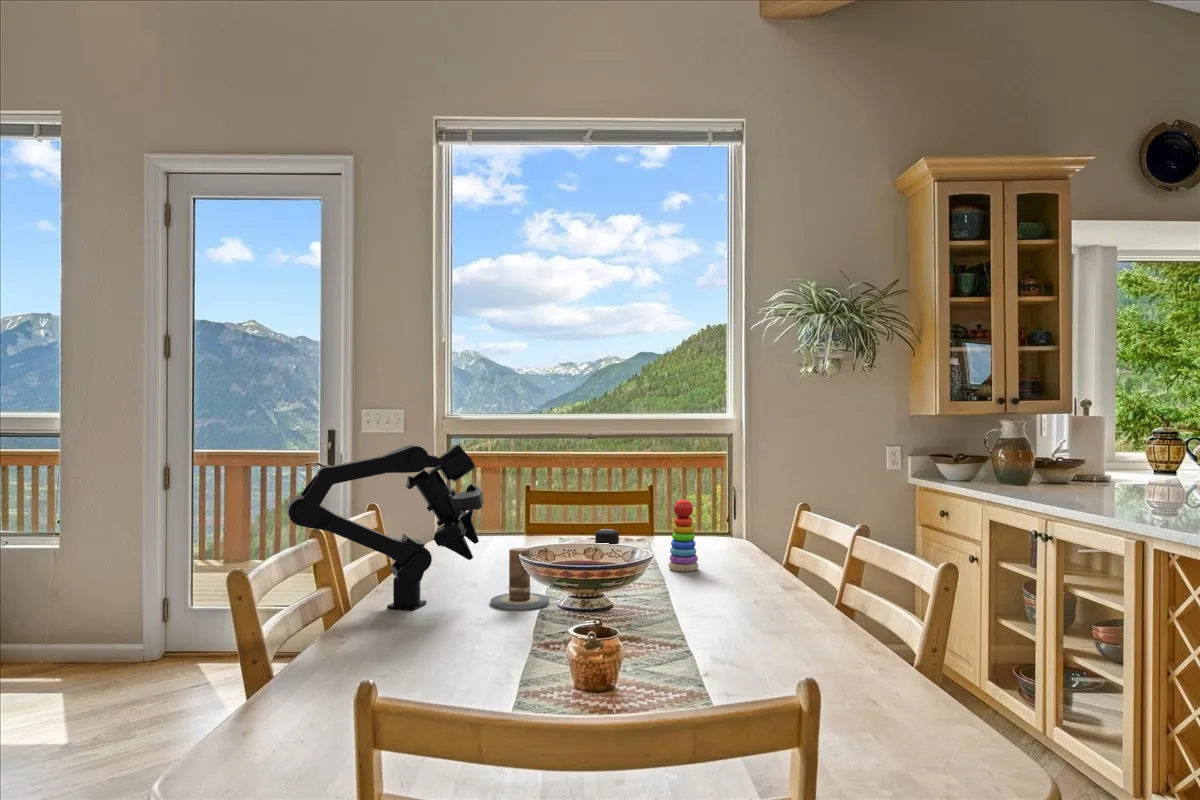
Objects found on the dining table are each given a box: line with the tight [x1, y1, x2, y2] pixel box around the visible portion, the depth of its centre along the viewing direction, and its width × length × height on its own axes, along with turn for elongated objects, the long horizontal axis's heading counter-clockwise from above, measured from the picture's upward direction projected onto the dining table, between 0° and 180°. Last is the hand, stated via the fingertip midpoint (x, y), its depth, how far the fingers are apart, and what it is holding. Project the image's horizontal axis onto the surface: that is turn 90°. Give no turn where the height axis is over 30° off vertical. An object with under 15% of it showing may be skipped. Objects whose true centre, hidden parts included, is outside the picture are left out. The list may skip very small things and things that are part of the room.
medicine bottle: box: [594, 528, 620, 545], centre depth 207 cm, size 7×7×12 cm
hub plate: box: [489, 592, 550, 612], centre depth 181 cm, size 13×13×1 cm
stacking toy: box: [668, 499, 699, 573], centre depth 217 cm, size 8×8×19 cm
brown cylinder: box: [508, 547, 531, 602], centre depth 181 cm, size 5×5×11 cm
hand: (474, 550), depth 184 cm, fingers open, 9 cm apart
